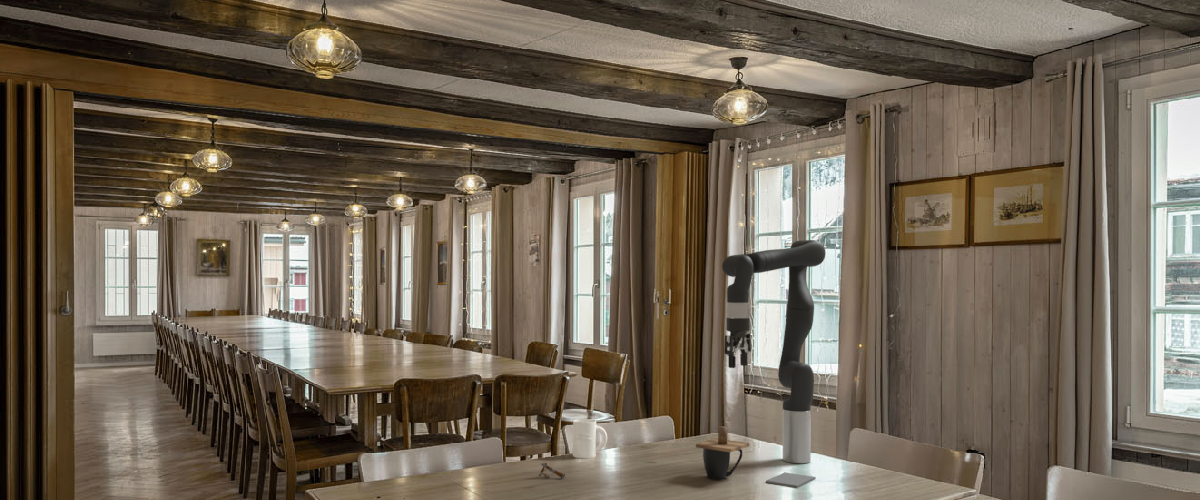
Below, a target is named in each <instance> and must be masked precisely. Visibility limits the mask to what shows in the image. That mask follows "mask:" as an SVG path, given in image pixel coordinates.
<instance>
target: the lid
mask: <svg viewBox="0 0 1200 500" xmlns="http://www.w3.org/2000/svg"><path fill="white" fill-rule="evenodd" d="M748 447H749V448H750V442H744V441H738V440H737V441H736V440H729V439H728V427H727V426H725V425H724V426H723V425H722V426H721V425H720V426H717V438H711V439H708V440H705V441H702V442H698V443H695V448H698V449H703V448H704V449H711V450H717V451H724V452H730V453H733V452H737V450H740V449H741V450H743V449H745V448H748Z"/></svg>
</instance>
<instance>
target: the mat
mask: <svg viewBox="0 0 1200 500" xmlns="http://www.w3.org/2000/svg"><path fill="white" fill-rule="evenodd" d="M815 480H816V476H811V475H805V474H800V473H799V474H798V473H792V472H791V473H790V472H783V473H780V474H778V475H776V476H773V477H771V478H769V479H767V480H765V483H766V484H767V483H768V484H773V485H779V486H784V487H789V488H796V489H797V488H800V487H802V486H804V485H806V484H808V483H810V482H813V481H815Z"/></svg>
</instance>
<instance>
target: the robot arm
mask: <svg viewBox="0 0 1200 500" xmlns="http://www.w3.org/2000/svg"><path fill="white" fill-rule="evenodd" d="M826 253H827V252H826V248H825V247H824V245H823V243H822V242H821V241H818V240H816V239H815V240H814V239H804V240H803V239H802V240H796V241H794V242H792V244H791V246H790V248H778V249H776V248H775V249H766V250H760V251H755V252H750V253H743V254H734V255H733V254H732V255H729V256H727V257H726V258H724V260H723V261H722V264H721V268H722V271H723V273H724V274H725V275H726V276H728V277H732V278H734V280H733V283H732V284H729V285H728V286H727V287H726V309H725V318H726V319H725V329H726V331H727V332H730V334H729V335H725V336H724V349H723V350H724V351H723V352H724V355H726V356H727V357H728V358H727V359H728V362H727V363H728V365H727V366H728V368H729V369H736V365H737V364H736V358H737V357H736V355H737V351H739V353H740V354H739V355H740V356H739V357H740V363H739V364H740V366H743V367H744V366H748V354H749V353H750V352H752V342H751V341H752V340H751V339H752V338H751V333H747V332H750V330H751V329H750V327H751V325H750V324H751V323H750V322H751V321H750V319H751V318H750V316H751V315H750V304H749V303H750V301H749V298H750V297H749V296H750V293H749V291H750V286H751V282H752V280H753V274H761V273H765V272H771V271H777V270H781V269H785V268H786V269H787V268H788V288H787V289H788V290H787V291H788V292H787V303H786V311H785V327H784V334H783V343H782V350H781V356H780V361H779V365H778V373H777V375H778V381H779V383H780V385H781V386H782V387H783V388H786V389H790V396H789V397H788V398H786V399H784V400H783V401H782V461H783V462H787V463H792V464H807V463H811V448H812V447H811V445H812V444H811V443H812V442H811V436H812V435H811V433H812V432H811V431H812V429H811V425H812V424H811V423H812V422H811V421H812V420H811V415H812V414H811V408H812V407H811V406H812V404H813V400H814V388H815V387H814V385H815V375H814V371H813V369H812V367H811V365H809V364H807V363H804V362H800V361H801V359H800V358H801V351H802V348H803V345H804V343H805V341H806V339H807V337H808V336H809V334H810V332H811V330H812V328H813V323H814V315H815V302H814V299H813V296H812V294H811V292H810V289H809V286H808V284H807V283H808V282H807V270H808V267H809V268H811V267H812V268H813V267H817V266H819V265H821V264H822V263H823V262H824V260H825V259H826Z"/></svg>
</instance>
